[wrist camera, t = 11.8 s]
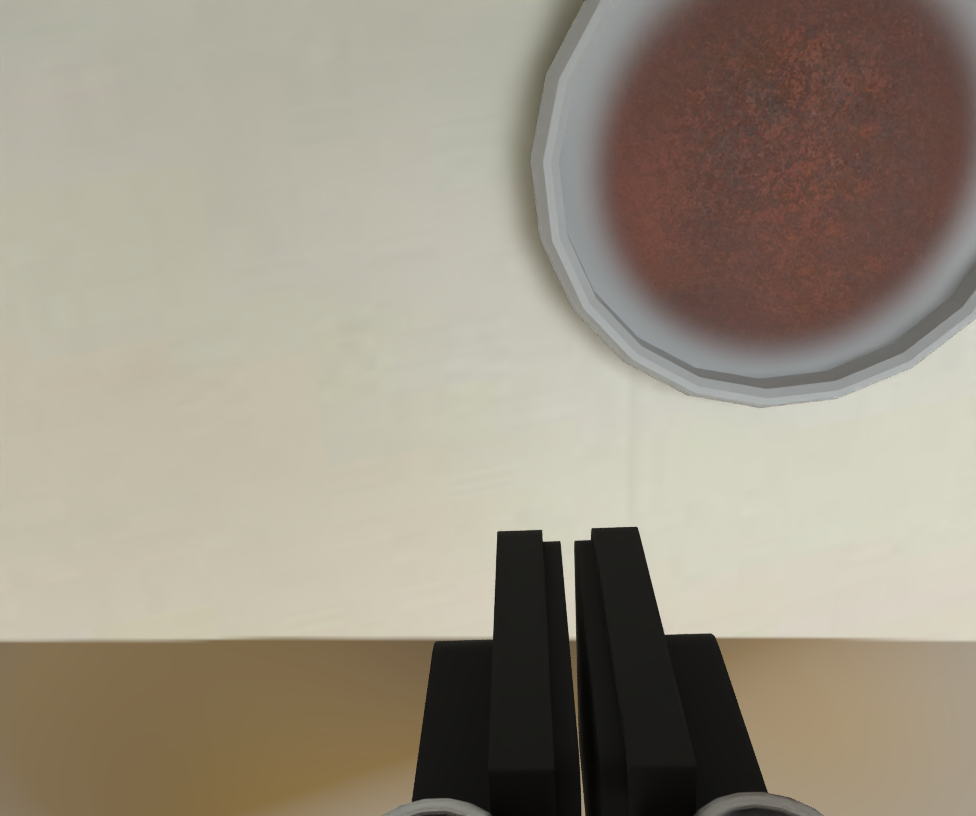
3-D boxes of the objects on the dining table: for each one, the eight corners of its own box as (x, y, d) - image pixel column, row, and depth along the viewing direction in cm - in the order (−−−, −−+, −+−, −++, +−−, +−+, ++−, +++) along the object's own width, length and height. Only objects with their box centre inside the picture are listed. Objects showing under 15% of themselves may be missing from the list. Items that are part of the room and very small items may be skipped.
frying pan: (1325, 428, 33) (523, 412, 33) (1262, 398, 35) (521, 384, 35) (1540, -130, 26) (541, -147, 26) (1442, -115, 29) (537, -130, 29)
